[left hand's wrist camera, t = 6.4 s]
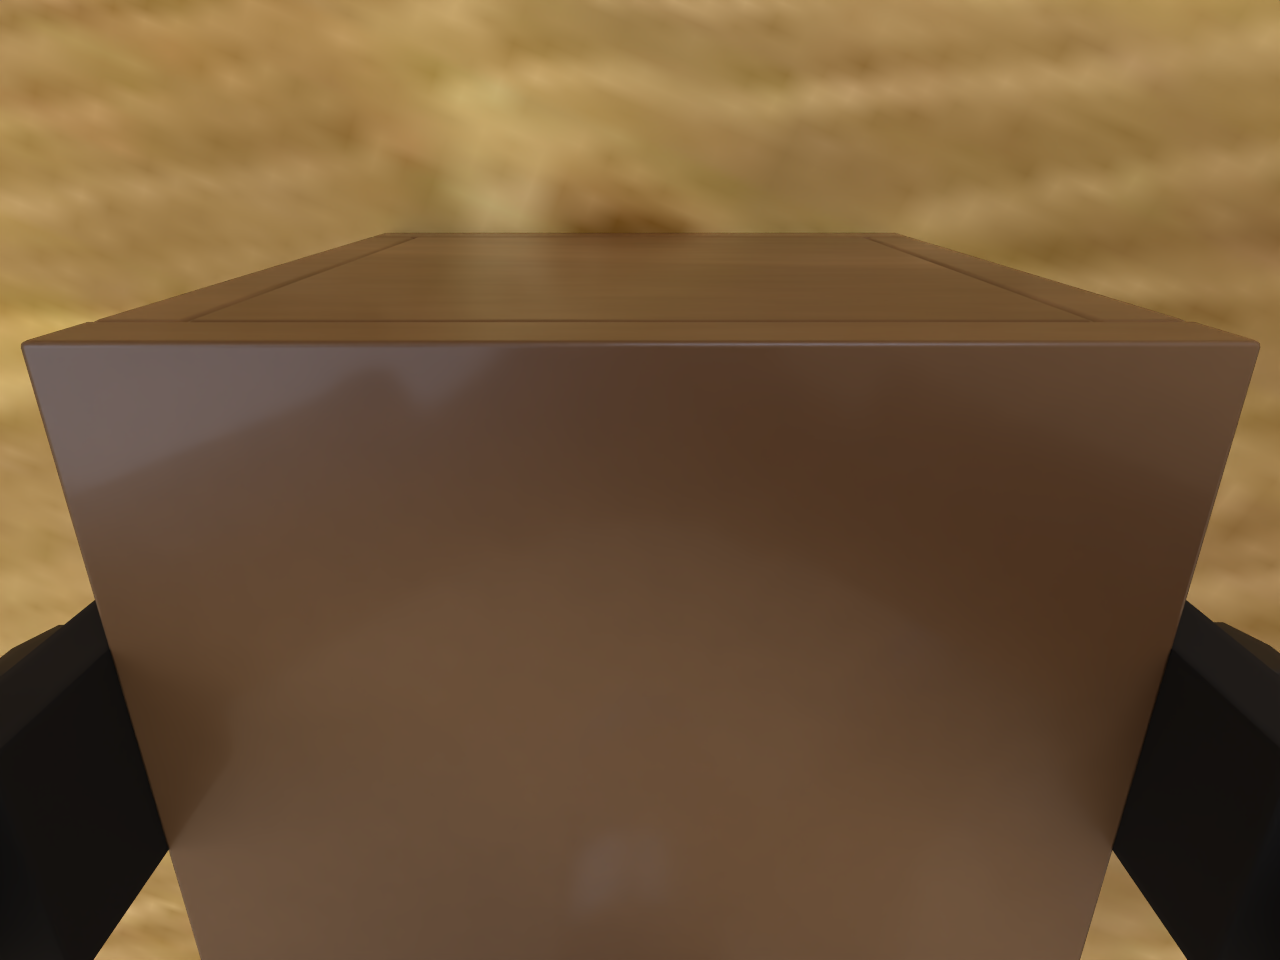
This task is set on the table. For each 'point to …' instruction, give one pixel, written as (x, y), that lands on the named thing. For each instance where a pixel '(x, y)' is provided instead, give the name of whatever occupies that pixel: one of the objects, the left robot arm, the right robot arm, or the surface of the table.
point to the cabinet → (640, 590)
